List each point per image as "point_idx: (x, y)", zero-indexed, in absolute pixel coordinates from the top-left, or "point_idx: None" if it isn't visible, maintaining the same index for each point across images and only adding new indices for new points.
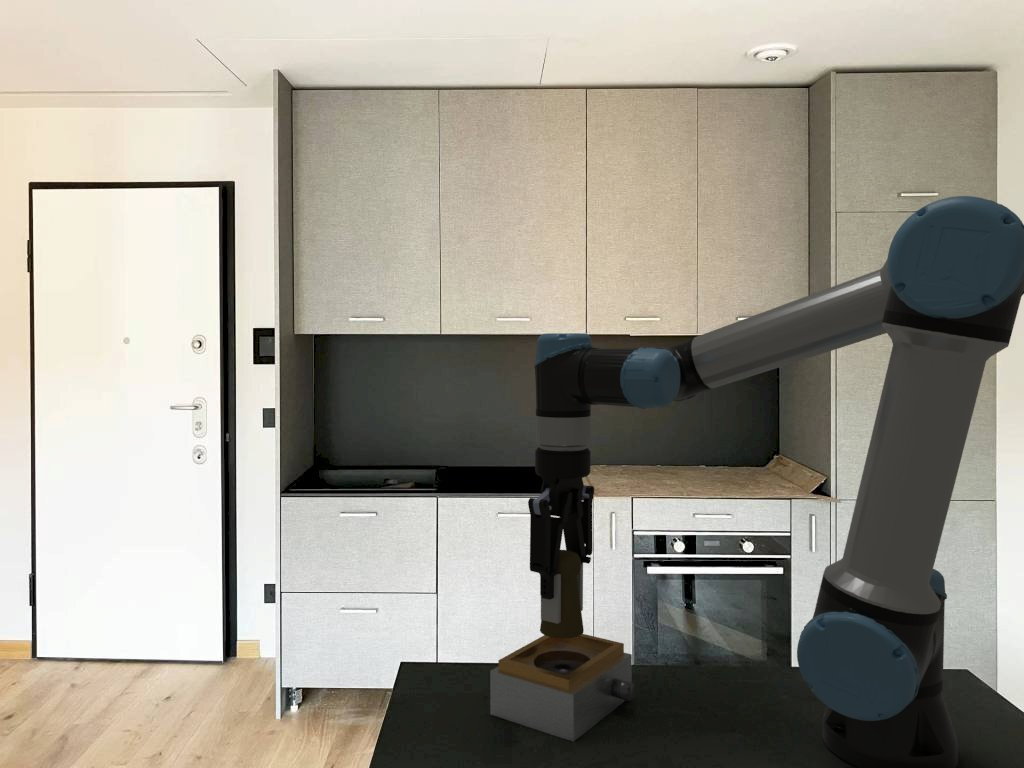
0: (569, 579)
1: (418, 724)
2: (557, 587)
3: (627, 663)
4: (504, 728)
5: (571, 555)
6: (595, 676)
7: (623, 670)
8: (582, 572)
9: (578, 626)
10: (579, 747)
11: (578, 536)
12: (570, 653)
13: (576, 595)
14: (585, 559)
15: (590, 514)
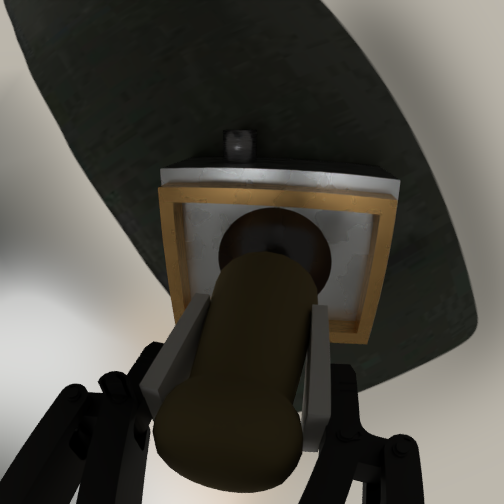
0: (263, 379)
1: (411, 349)
2: (329, 381)
3: (182, 166)
4: (386, 268)
5: (223, 455)
6: (301, 178)
7: (201, 164)
8: (154, 365)
9: (268, 265)
10: (388, 152)
11: (117, 490)
12: None
13: (247, 323)
14: (121, 391)
15: (5, 496)
